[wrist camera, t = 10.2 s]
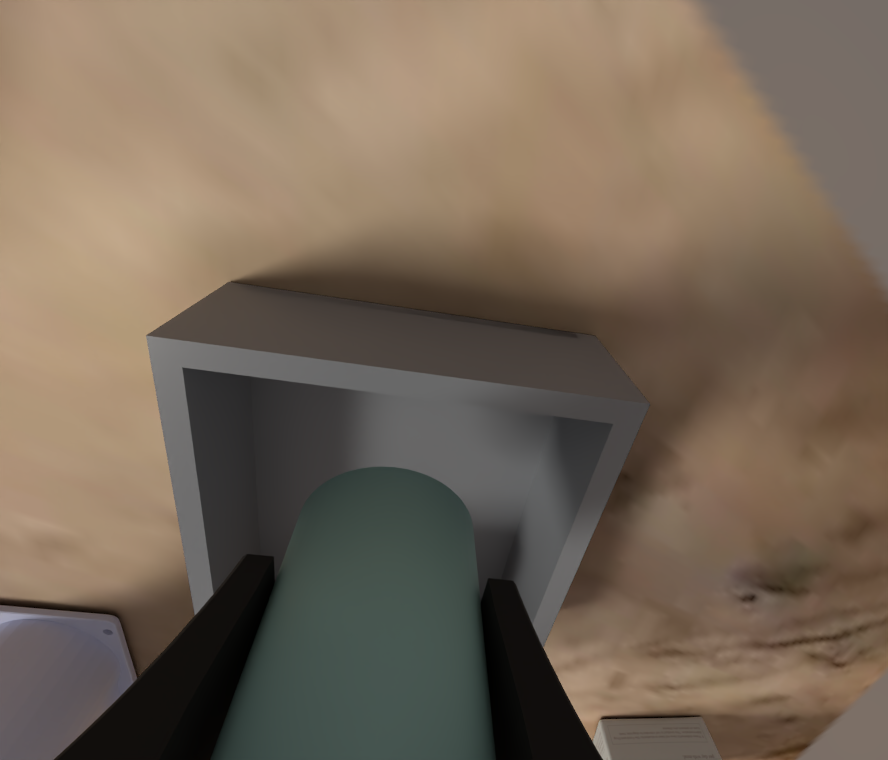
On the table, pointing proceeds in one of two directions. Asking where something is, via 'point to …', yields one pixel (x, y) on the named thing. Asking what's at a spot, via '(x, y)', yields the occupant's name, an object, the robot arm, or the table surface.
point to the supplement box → (655, 739)
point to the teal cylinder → (369, 632)
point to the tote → (388, 427)
